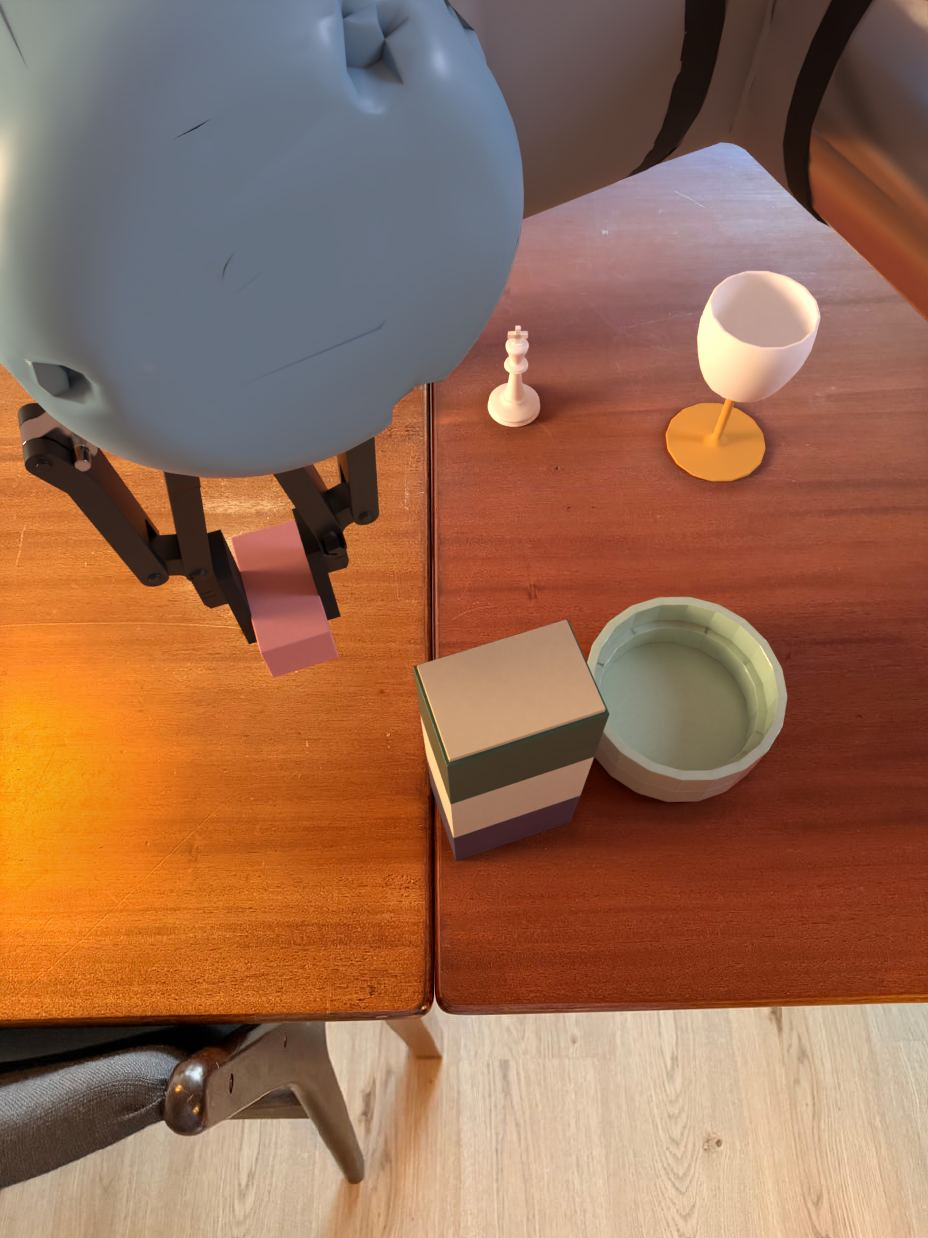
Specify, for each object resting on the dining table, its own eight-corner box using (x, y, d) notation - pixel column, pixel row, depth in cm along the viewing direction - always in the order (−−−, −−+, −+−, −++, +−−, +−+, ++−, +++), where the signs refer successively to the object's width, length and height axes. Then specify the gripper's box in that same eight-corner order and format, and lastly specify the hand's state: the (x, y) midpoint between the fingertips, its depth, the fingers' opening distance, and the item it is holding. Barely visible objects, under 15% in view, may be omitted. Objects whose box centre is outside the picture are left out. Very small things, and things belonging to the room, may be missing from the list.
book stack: (570, 822, 67) (610, 714, 47) (455, 861, 66) (446, 767, 46) (542, 749, 70) (567, 618, 50) (430, 785, 68) (412, 665, 49)
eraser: (339, 658, 46) (330, 631, 44) (272, 678, 46) (260, 653, 43) (305, 548, 50) (295, 518, 47) (243, 567, 49) (229, 537, 46)
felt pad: (604, 712, 47) (605, 709, 47) (449, 762, 46) (449, 760, 46) (565, 622, 50) (566, 618, 50) (417, 668, 49) (417, 665, 48)
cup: (762, 489, 80) (824, 361, 66) (660, 473, 81) (699, 343, 67) (767, 411, 84) (826, 274, 70) (670, 397, 85) (709, 259, 71)
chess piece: (541, 426, 84) (548, 348, 75) (488, 427, 84) (489, 349, 75) (538, 385, 86) (545, 305, 77) (487, 386, 86) (488, 306, 77)
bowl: (796, 769, 69) (823, 742, 63) (621, 829, 67) (633, 807, 61) (713, 610, 75) (731, 574, 70) (550, 661, 73) (556, 628, 68)
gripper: (373, 98, 29) (417, 509, 50) (-153, 216, 27) (121, 595, 48) (445, 248, 26) (460, 622, 47) (-148, 397, 24) (144, 720, 45)
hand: (289, 608), depth 47 cm, fingers closed on eraser, 3 cm apart
